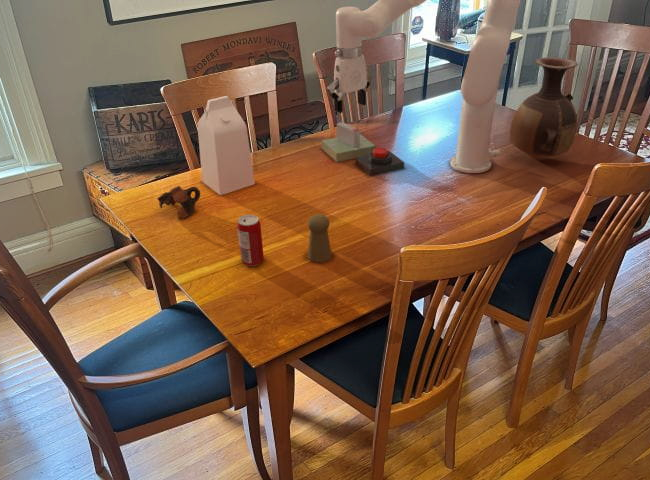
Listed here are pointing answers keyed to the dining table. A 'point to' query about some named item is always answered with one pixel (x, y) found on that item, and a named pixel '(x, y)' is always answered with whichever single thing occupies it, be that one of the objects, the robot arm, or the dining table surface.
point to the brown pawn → (319, 239)
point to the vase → (546, 115)
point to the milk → (224, 148)
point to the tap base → (346, 149)
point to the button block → (379, 163)
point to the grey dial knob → (348, 134)
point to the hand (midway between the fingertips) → (350, 108)
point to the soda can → (250, 240)
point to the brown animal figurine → (181, 199)
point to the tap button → (380, 152)
